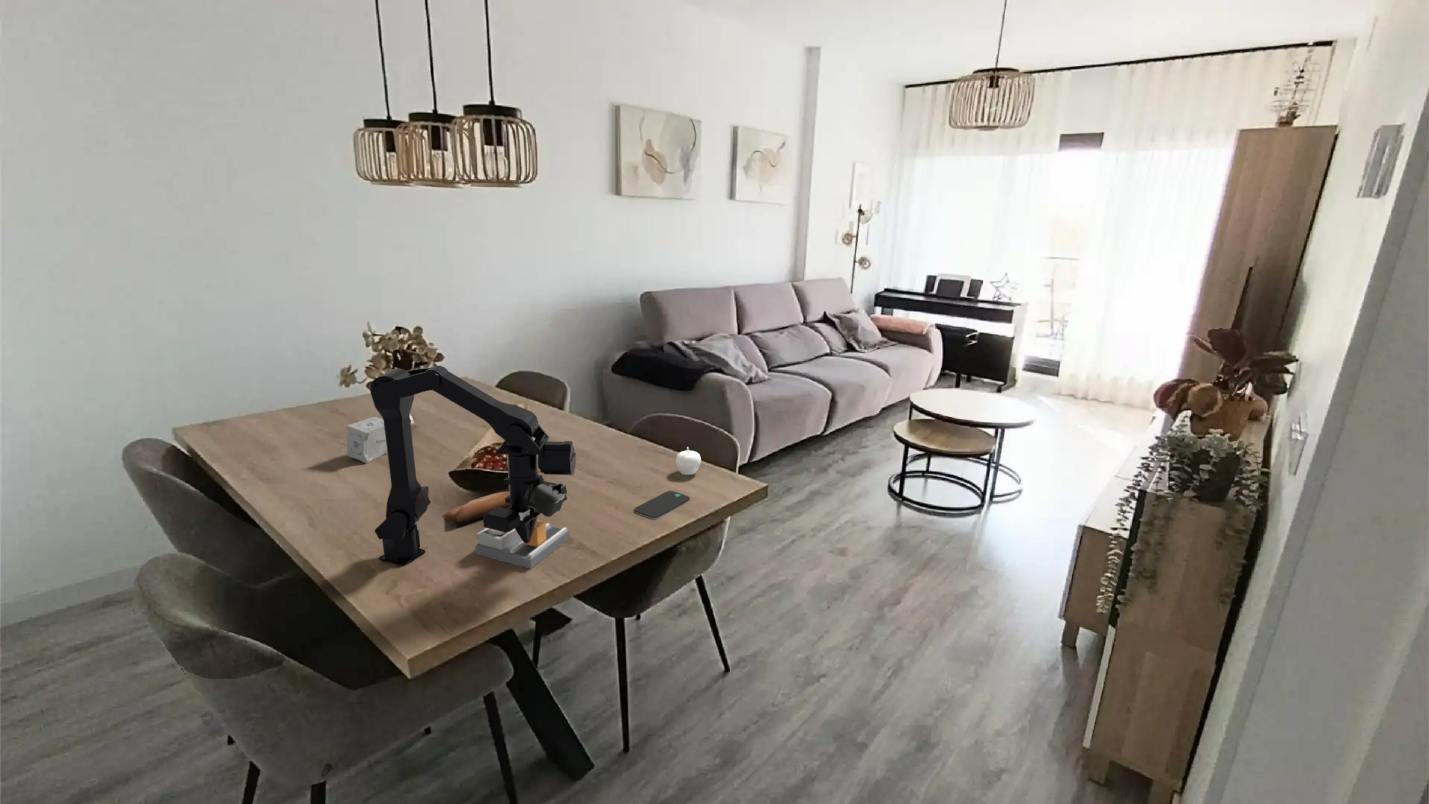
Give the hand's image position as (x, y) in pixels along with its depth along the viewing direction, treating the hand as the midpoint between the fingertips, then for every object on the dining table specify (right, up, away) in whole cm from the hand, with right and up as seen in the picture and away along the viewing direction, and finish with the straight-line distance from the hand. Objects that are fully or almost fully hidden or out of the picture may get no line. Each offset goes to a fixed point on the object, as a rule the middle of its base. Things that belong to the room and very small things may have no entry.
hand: (526, 542), depth 136 cm
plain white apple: (+32, +9, +49) cm, 59 cm away
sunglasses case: (-17, +2, +22) cm, 27 cm away
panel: (-2, -2, +6) cm, 7 cm away
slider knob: (+1, -1, +4) cm, 4 cm away
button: (-7, +2, +4) cm, 8 cm away
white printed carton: (-59, +13, +51) cm, 79 cm away
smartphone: (+26, +3, +28) cm, 39 cm away
